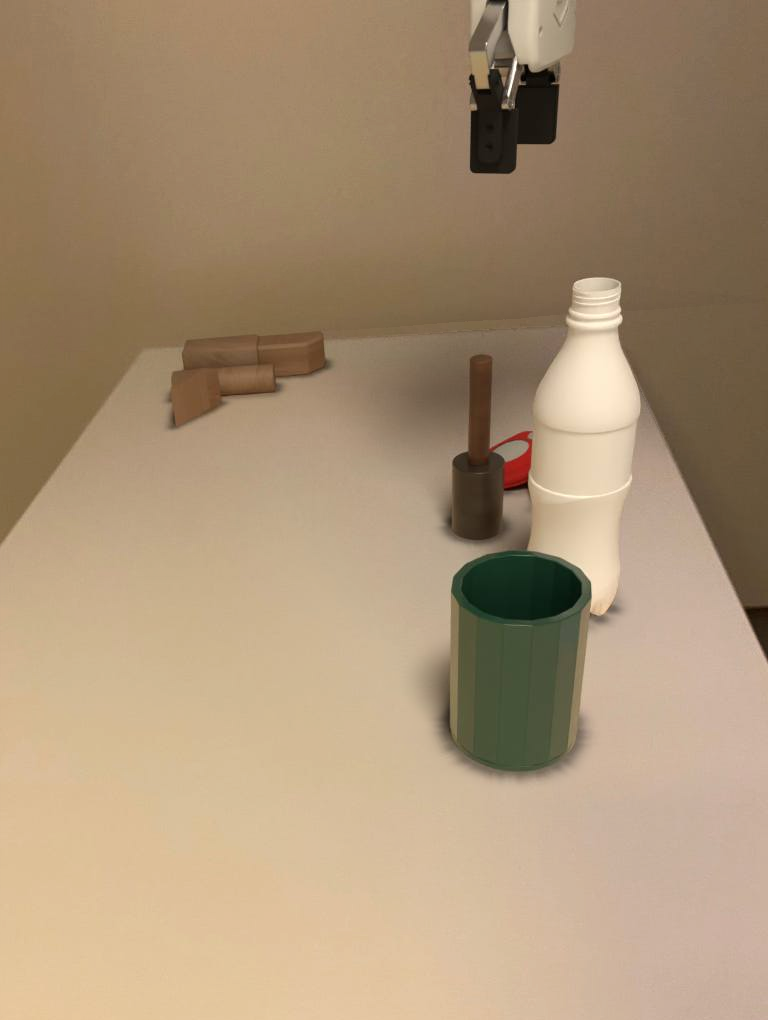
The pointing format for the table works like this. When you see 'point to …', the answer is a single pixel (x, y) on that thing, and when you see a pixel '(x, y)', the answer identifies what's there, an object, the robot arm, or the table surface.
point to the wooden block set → (239, 368)
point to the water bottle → (585, 442)
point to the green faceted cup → (517, 658)
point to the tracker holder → (516, 458)
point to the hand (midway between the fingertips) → (514, 157)
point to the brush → (478, 464)
